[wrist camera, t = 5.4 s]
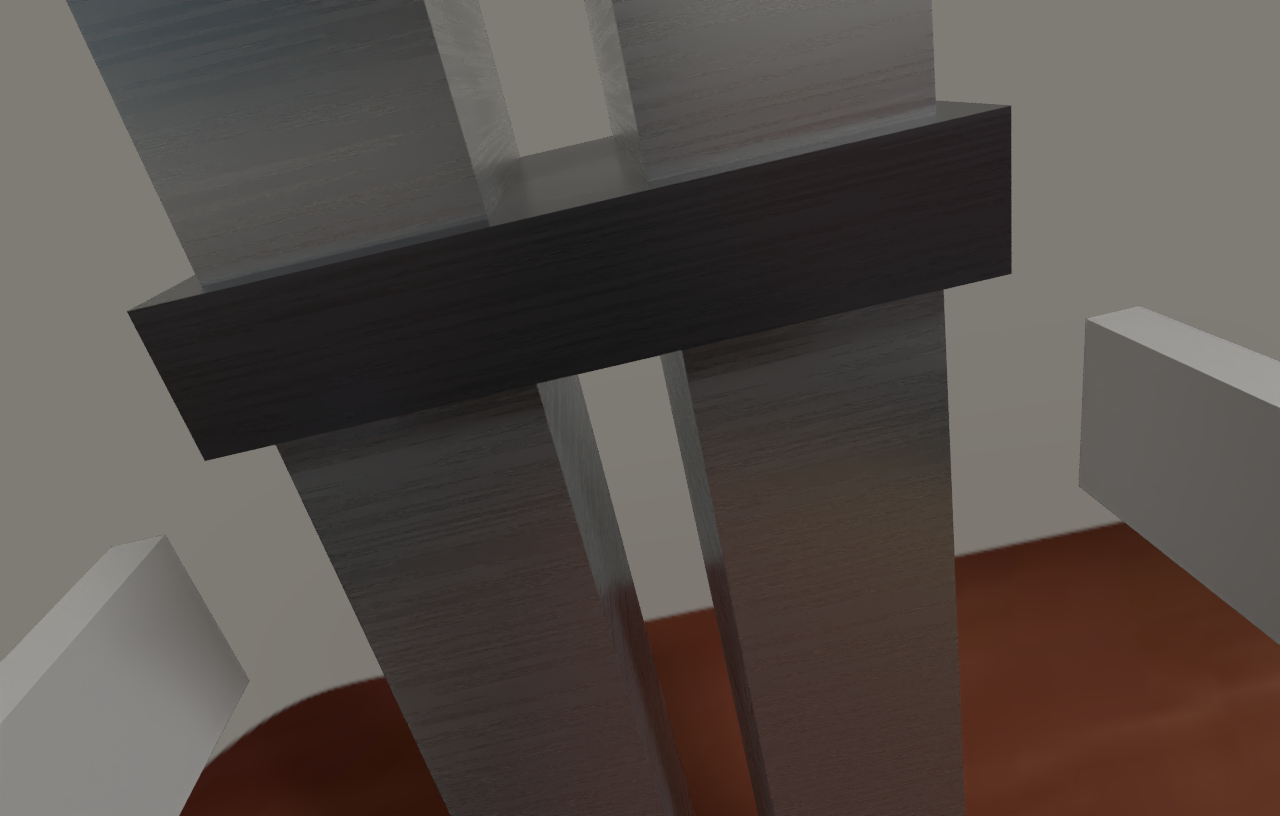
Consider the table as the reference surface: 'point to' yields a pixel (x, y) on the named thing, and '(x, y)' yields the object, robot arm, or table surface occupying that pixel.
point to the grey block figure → (590, 364)
